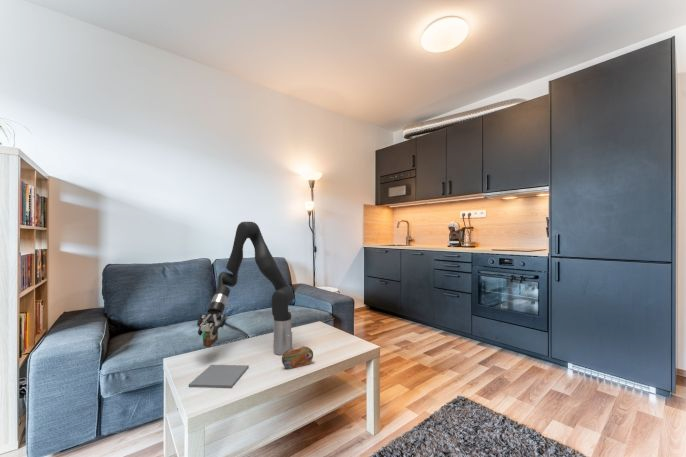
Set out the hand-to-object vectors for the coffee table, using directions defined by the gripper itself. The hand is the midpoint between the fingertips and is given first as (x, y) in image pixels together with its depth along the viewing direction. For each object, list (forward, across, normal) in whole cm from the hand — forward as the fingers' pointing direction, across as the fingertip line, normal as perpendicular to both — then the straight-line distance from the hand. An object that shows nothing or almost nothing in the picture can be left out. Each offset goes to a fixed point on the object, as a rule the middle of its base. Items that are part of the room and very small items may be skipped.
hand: (206, 334), depth 141 cm
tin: (+11, +45, +9) cm, 47 cm away
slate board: (+19, +14, 0) cm, 24 cm away
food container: (+2, 0, +5) cm, 5 cm away
